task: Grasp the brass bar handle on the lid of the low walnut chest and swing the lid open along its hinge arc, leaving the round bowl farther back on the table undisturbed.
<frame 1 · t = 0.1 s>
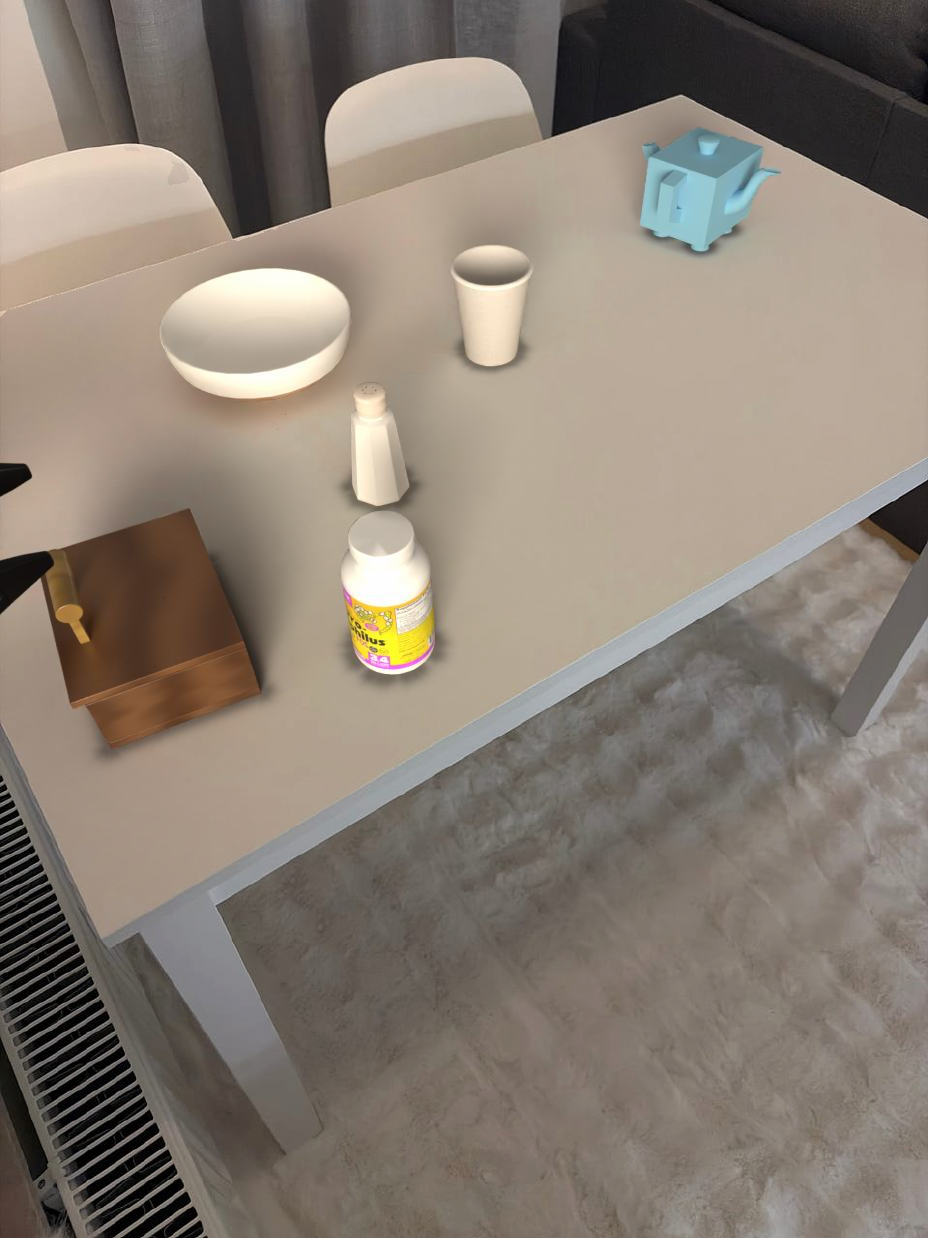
hand: (40, 512, 60), 17 cm above the table, tool horizontal, fingers open, 9 cm apart
bowl: (267, 369, 98), on the table
supplement bottle: (395, 646, 74), on the table
salt shaker: (381, 488, 86), on the table
teapot: (695, 234, 115), on the table
chest: (163, 648, 74), on the table
dixie cup: (491, 352, 100), on the table
lid: (127, 580, 68), point 8 cm above the table, hinge at 0.0°
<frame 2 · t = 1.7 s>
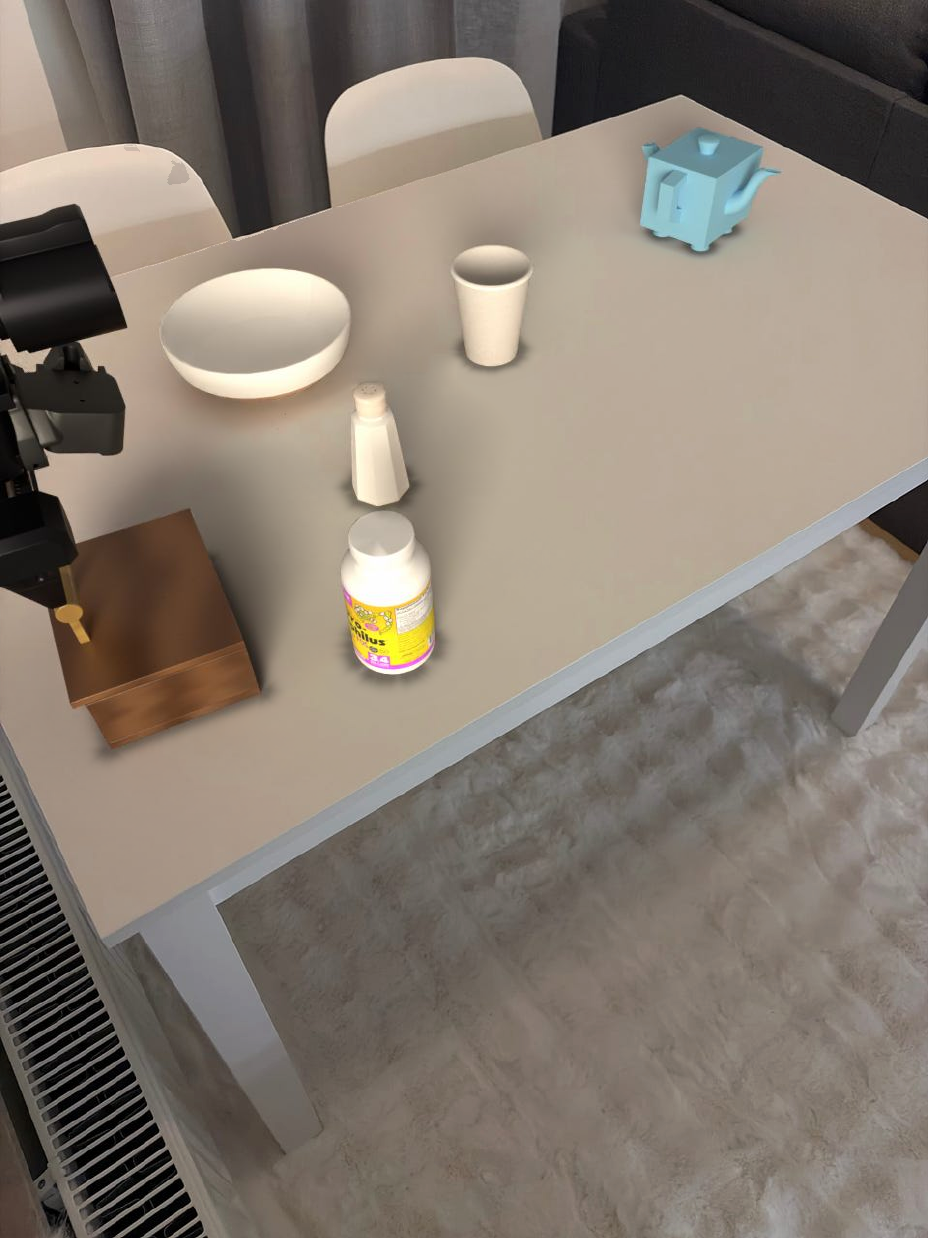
hand: (47, 559, 63), 13 cm above the table, tool pointing down, fingers open, 9 cm apart
nothing on the table moved.
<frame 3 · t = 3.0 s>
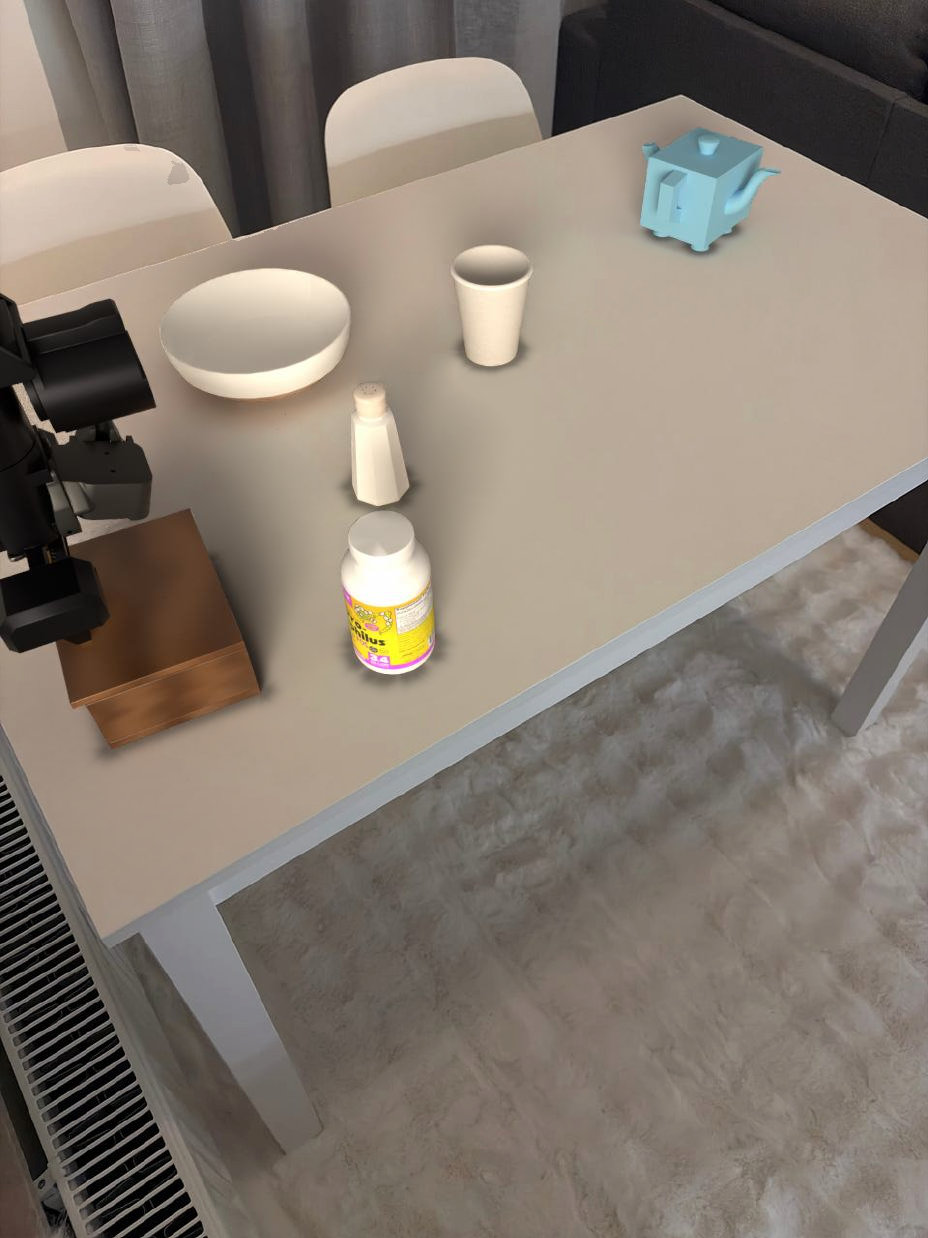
hand: (76, 612, 68), 7 cm above the table, tool pointing down, fingers closed on lid, 6 cm apart
lid: (127, 580, 68), point 8 cm above the table, hinge at 0.0°, touching gripper
everything else where it was.
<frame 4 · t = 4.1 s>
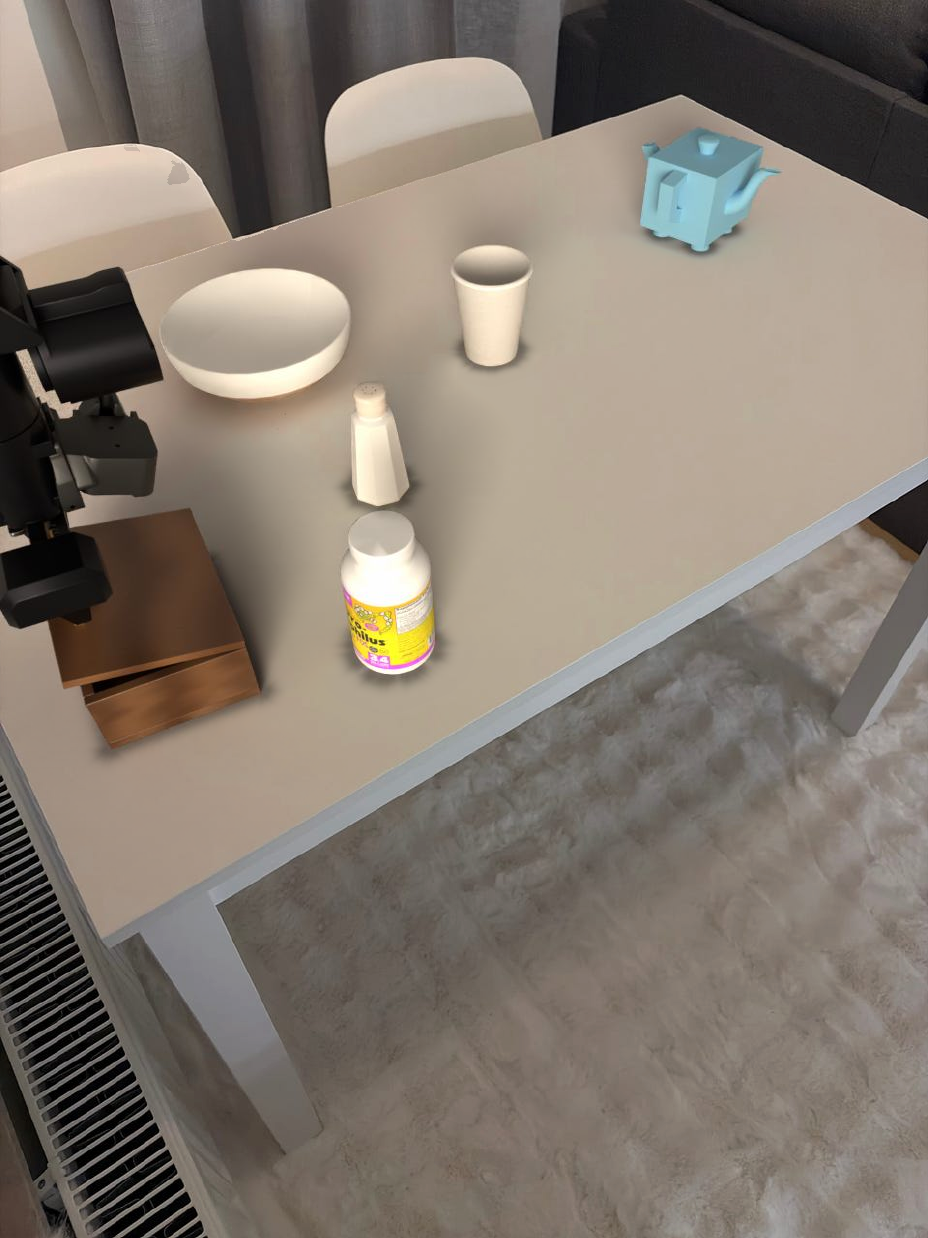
hand: (76, 592, 66), 9 cm above the table, tool pointing down, fingers closed on lid, 6 cm apart
lid: (130, 568, 67), point 9 cm above the table, hinge at 10.6°, touching gripper
everything else where it was.
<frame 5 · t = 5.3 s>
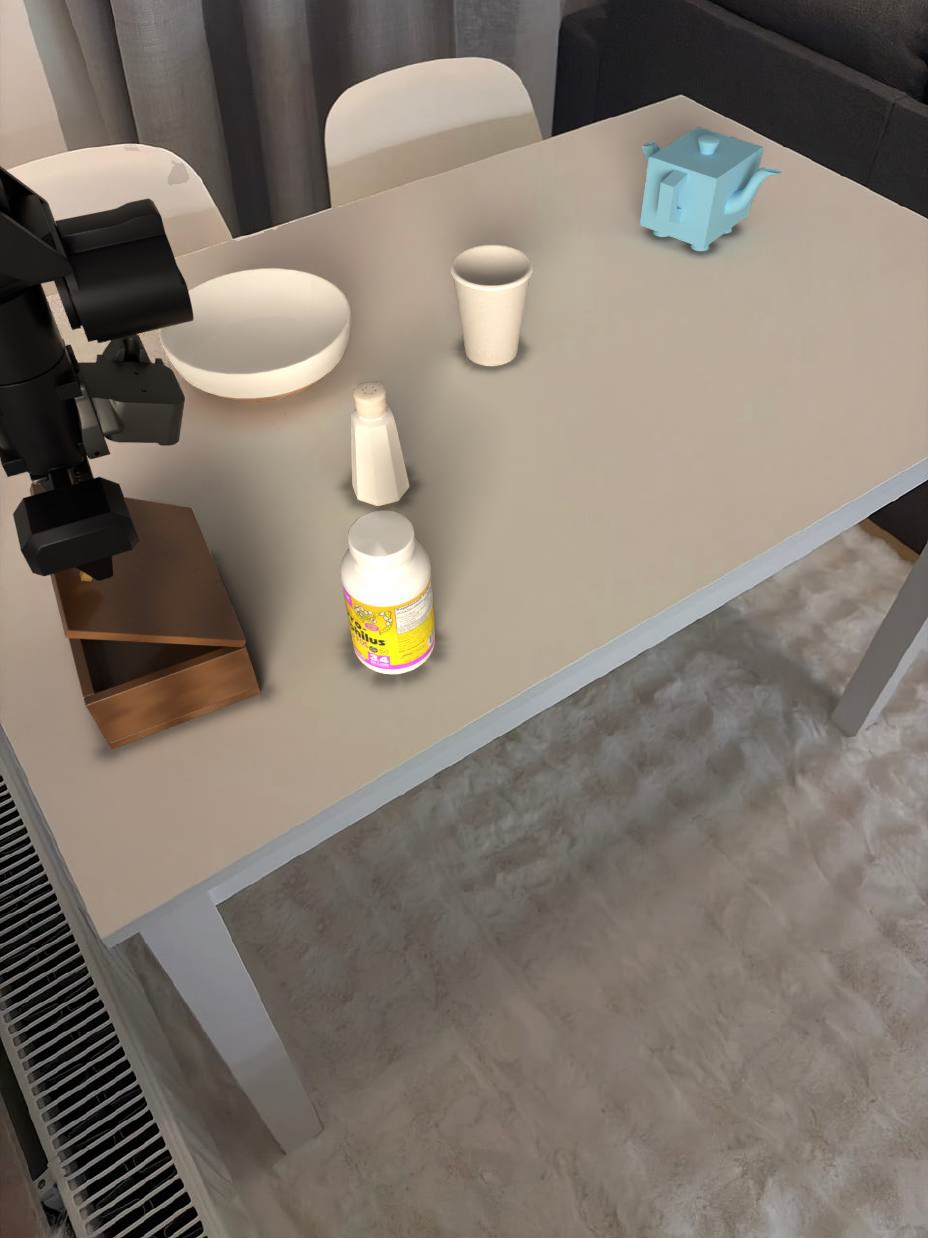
hand: (96, 548, 64), 12 cm above the table, tool pointing down, fingers closed on lid, 6 cm apart
lid: (145, 542, 66), point 11 cm above the table, hinge at 33.6°, touching gripper
everything else where it was.
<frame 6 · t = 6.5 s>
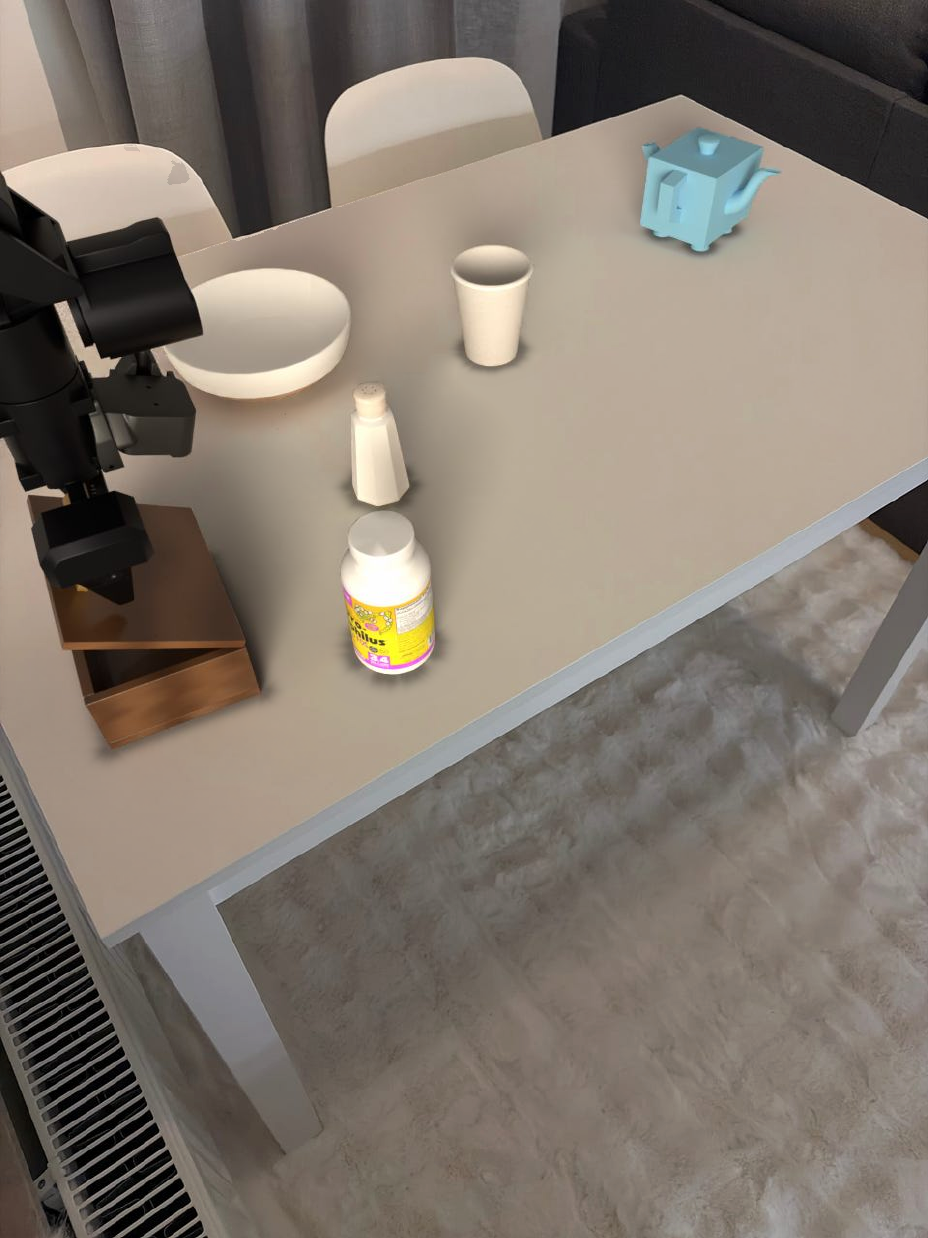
hand: (113, 557, 66), 11 cm above the table, tool pointing down, fingers open, 9 cm apart
lid: (141, 547, 66), point 11 cm above the table, hinge at 28.5°
everything else where it was.
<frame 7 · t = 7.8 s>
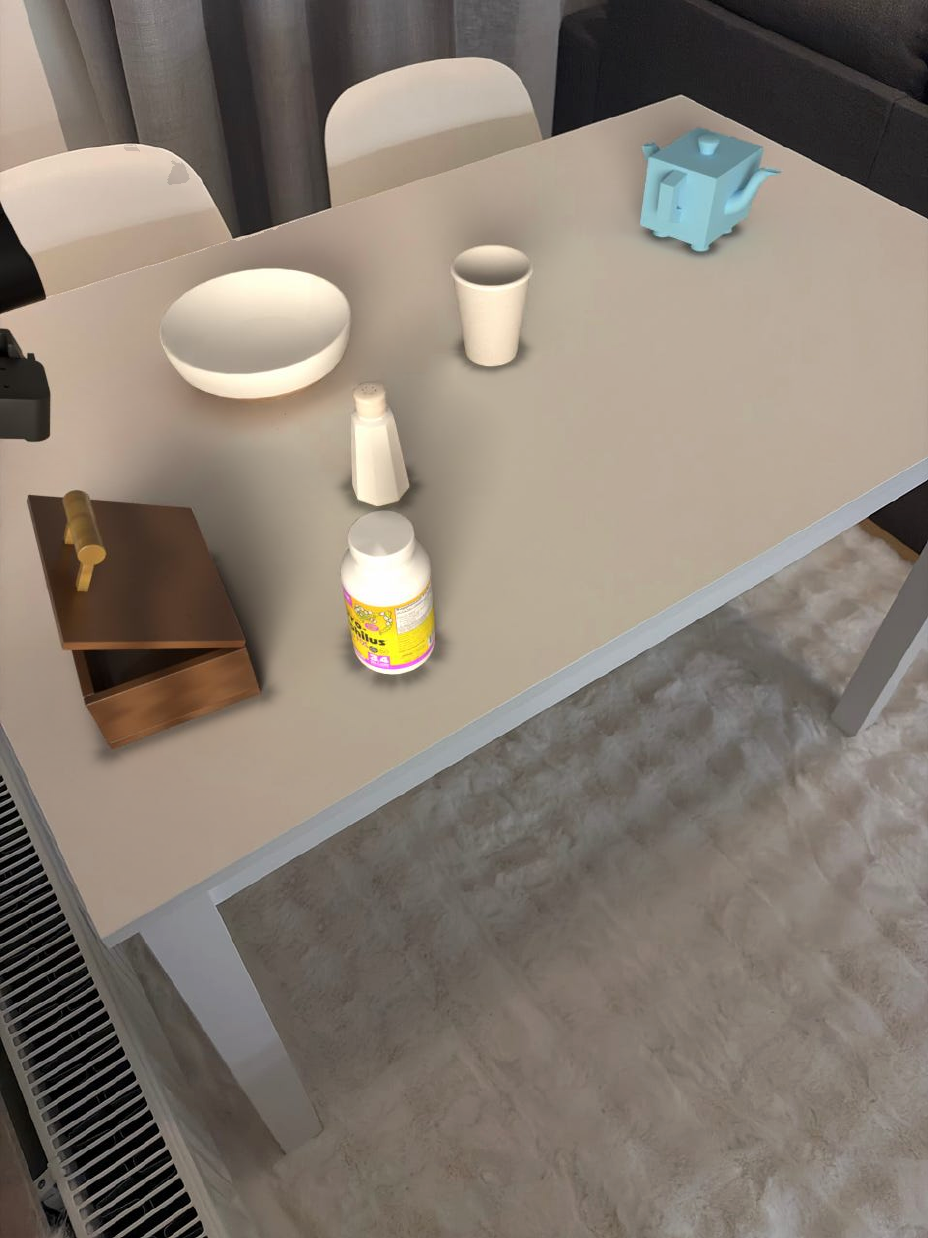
nothing on the table moved.
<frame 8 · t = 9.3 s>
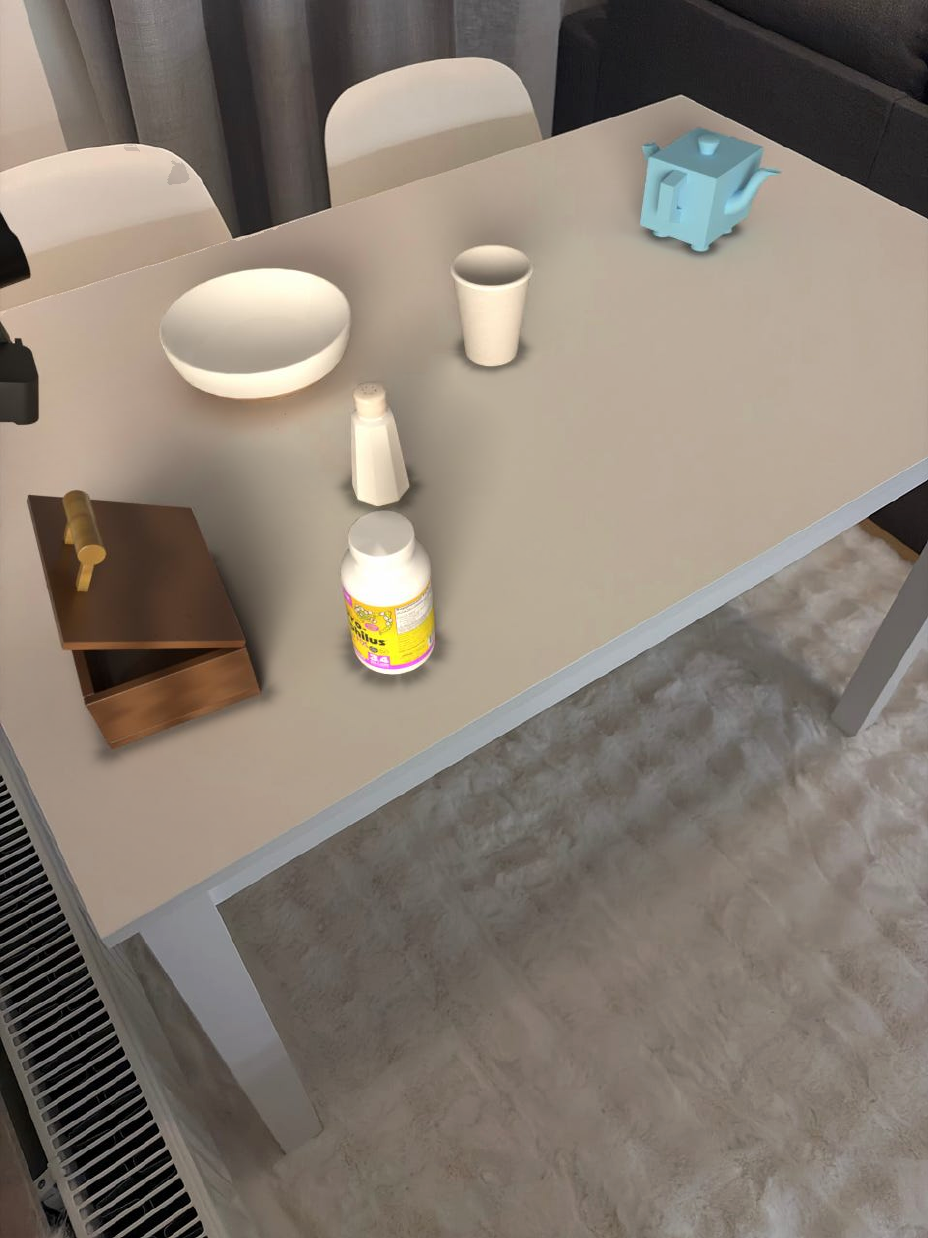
nothing on the table moved.
at the end: lid at +28° (first picture: +0°); bowl moved 0.2 cm from its start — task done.
